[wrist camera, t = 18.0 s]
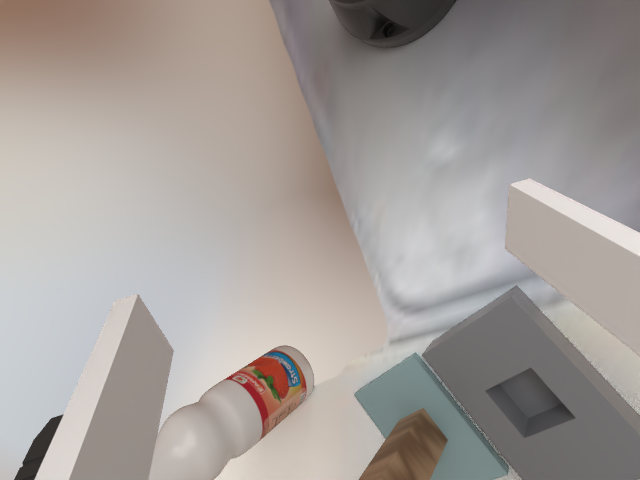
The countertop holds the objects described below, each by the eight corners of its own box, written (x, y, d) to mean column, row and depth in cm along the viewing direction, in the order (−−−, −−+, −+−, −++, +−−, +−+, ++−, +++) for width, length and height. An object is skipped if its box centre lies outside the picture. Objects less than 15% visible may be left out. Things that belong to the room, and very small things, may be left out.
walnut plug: (397, 419, 48) (321, 532, 33) (423, 406, 45) (352, 521, 31) (421, 452, 47) (352, 582, 32) (449, 440, 44) (388, 576, 30)
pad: (357, 391, 52) (353, 394, 51) (415, 352, 46) (412, 355, 45) (432, 494, 48) (430, 500, 47) (508, 468, 42) (507, 474, 41)
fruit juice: (269, 383, 63) (99, 508, 40) (272, 335, 60) (92, 439, 38) (314, 408, 58) (147, 566, 35) (318, 356, 55) (142, 491, 33)
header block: (433, 340, 44) (422, 355, 41) (516, 285, 38) (511, 297, 35) (545, 477, 40) (542, 505, 36) (662, 440, 33) (672, 470, 30)
